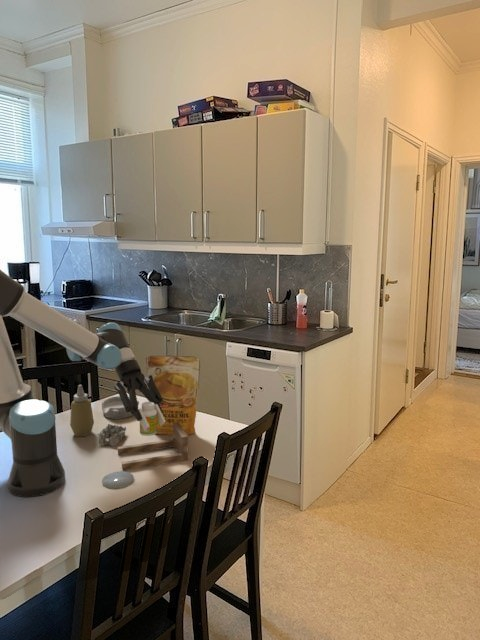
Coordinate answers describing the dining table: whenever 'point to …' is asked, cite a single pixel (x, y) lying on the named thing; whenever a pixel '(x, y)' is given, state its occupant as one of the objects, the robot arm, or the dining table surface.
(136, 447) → the lane rack
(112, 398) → the dish
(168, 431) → the pancake mix bag
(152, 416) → the supplement bottle
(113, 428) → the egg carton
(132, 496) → the dining table surface
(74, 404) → the squeeze bottle
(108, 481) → the coaster
